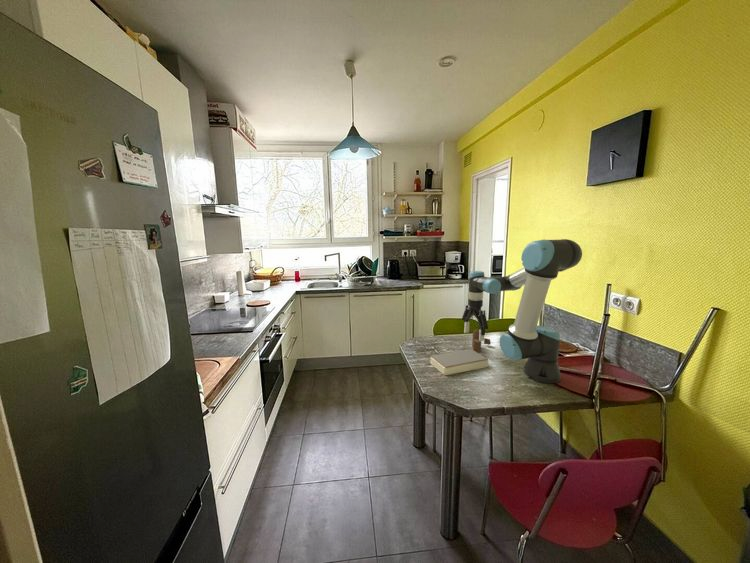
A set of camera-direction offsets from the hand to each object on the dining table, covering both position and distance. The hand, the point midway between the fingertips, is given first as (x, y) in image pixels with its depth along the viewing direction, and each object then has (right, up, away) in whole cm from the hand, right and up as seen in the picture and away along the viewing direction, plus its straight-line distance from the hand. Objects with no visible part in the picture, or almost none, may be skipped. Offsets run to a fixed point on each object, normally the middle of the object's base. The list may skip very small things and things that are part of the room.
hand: (473, 336), depth 165 cm
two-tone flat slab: (-13, -11, -17) cm, 24 cm away
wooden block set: (+3, -8, +2) cm, 9 cm away
